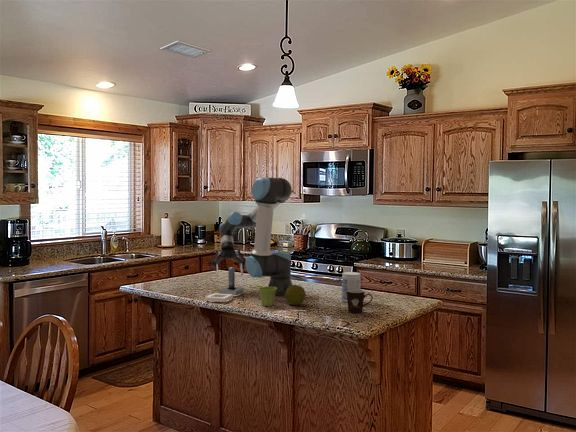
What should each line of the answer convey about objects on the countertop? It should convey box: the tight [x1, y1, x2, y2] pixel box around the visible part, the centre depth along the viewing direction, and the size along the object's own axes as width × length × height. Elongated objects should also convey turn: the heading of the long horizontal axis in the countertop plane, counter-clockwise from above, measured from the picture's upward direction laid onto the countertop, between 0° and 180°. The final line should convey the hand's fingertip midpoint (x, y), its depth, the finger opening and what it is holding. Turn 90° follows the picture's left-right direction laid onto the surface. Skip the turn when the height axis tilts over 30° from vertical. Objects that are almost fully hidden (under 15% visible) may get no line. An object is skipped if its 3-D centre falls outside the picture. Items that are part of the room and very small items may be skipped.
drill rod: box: [227, 267, 236, 290], centre depth 287 cm, size 3×3×15 cm
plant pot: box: [257, 286, 277, 307], centre depth 261 cm, size 9×9×9 cm
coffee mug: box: [346, 289, 373, 315], centre depth 244 cm, size 12×9×10 cm
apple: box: [284, 284, 306, 306], centre depth 261 cm, size 10×10×11 cm
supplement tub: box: [341, 271, 362, 303], centre depth 270 cm, size 10×10×15 cm
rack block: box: [204, 292, 234, 302], centre depth 272 cm, size 11×11×2 cm
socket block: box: [218, 286, 245, 295], centre depth 287 cm, size 10×10×4 cm
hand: (229, 274), depth 290 cm, fingers open, 13 cm apart
